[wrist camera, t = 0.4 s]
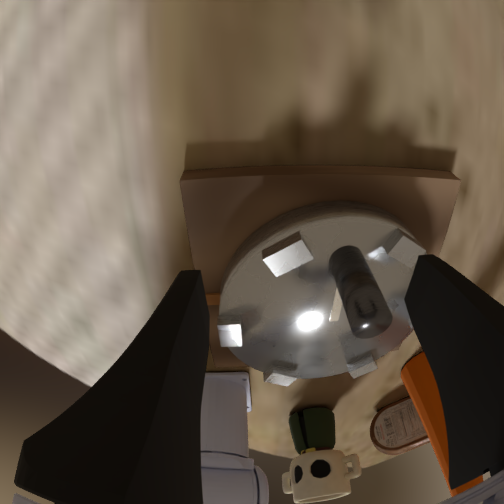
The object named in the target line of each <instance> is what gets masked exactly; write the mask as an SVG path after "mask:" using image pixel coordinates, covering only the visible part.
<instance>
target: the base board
mask: <svg viewBox="0 0 504 504" xmlns="http://www.w3.org/2000/svg"><path fill="white" fill-rule="evenodd" d="M460 183H461V180H460V179H459V178H458V177H456V176H455V175H454V174H452V173H451V172H450V171H439V170H427V169H414V168H398V167H378V166H347V165H286V166H253V167H233V168H216V169H202V170H189V171H184V172H183V174H182V177H181V179H180V186H181V193H182V199H183V206H184V212H185V218H186V224H187V230H188V236H189V242H190V248H191V253H192V259H193V264H194V270H201V274H202V280H203V285H204V290H205V295H206V300H207V305H208V309H209V314H210V333H209V343H210V347H211V352H212V356H213V361H214V365H215V367H245V366H249V365H247V364H245V363H244V362H242V361H241V360H240V359H238V358H237V357H236V356H235V355H234V354H233V353H232V352H231V351H230V349H229V348H228V347H221V345H220V339H219V333H218V328H217V318H218V316H219V305H220V290H221V282H222V278H223V275H224V272H225V269H226V267H227V265H228V263H229V261H230V259H231V257H232V256H233V254H234V253H235V252H236V250H237V249H238V247H239V246H240V245H241V244H242V243H243V242H244V241H245V240H246V239H247V238H248V237H249V236H250V235H251V234H252V233H254V232H255V231H256V230H257V229H259V228H260V227H261V226H262V225H264V224H266V223H267V222H269V221H271V220H272V219H274V218H275V217H277V216H280V215H282V214H284V213H286V212H288V211H290V210H293V209H296V208H299V207H302V206H305V205H309V204H314V203H319V202H324V201H337V200H343V201H357V202H362V203H367V204H371V205H374V206H377V207H380V208H382V209H384V210H386V211H388V212H390V213H391V214H393V215H394V216H396V217H397V218H398V219H399V220H401V221H402V222H403V223H404V224H405V225H406V227H407V228H408V229H409V230H410V231H411V233H412V234H413V235H414V237H415V238H416V239H417V241H418V242H420V243H421V244H422V246H423V247H424V248H425V250H426V253H427V254H433V255H435V256H437V257H439V254H440V251H441V248H442V245H443V242H444V239H445V236H446V233H447V230H448V227H449V223H450V220H451V217H452V213H453V210H454V206H455V203H456V199H457V195H458V191H459V187H460ZM401 343H402V342H401ZM401 343H400V344H399V345H397V346H396V347H395V348H394V349H392V350H391V351H395V350H398V349H399V347H400V345H401Z"/></svg>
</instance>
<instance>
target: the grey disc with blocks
mask: <svg viewBox="0 0 504 504" xmlns="http://www.w3.org/2000/svg"><path fill="white" fill-rule="evenodd" d="M419 255H427V253H426V250H425V248H424V247H423V246H422V244H421V243H420V242H418V241H417V239H416V238H415V237H414V235H413V234H412V233H411V231H410V230H409V229H408V228H407V227H406V225H405V224H404V223H403V222H402V221H401V220H399V219H398V218H397V217H396V216H394V215H393V214H391V213H390V212H388V211H386V210H384V209H382V208H380V207H377V206H374V205H371V204H367V203H362V202H357V201H343V200H337V201H324V202H319V203H314V204H309V205H305V206H302V207H299V208H296V209H293V210H290V211H288V212H286V213H284V214H282V215H280V216H277V217H275V218H274V219H272V220H271V221H269V222H267V223H266V224H264V225H262V226H261V227H260V228H259V229H257V230H256V231H255V232H254V233H252V234H251V235H250V236H249V237H248V238H247V239H246V240H245V241H244V242H243V243H242V244H241V245H240V246H239V247H238V249H237V250H236V252H235V253H234V254H233V256H232V257H231V259H230V261H229V263H228V265H227V267H226V269H225V272H224V275H223V278H222V282H221V290H220V305H219V316H218V318H217V328H218V333H219V339H220V345H221V347H228V348H229V349H230V351H231V352H232V353H233V354H234V355H235V356H236V357H237V358H238V359H240V360H241V361H242V362H244V363H245V364H247V365H249V366H250V367H252V368H254V369H256V370H259V371H261V372H264V373H263V376H264V382H269V383H274V384H278V385H283V386H289V385H290V384H291V383H292V382H293V381H295V380H296V379H309V378H321V377H327V376H333V375H337V374H342V373H345V372H348V371H349V373H350V375H351V376H352V377H353V379H354V378H356V377H359V376H361V375H364V374H366V373H368V372H371V371H373V370H375V369H378V368H377V365H376V362H375V360H377V359H378V358H380V357H382V356H384V355H385V354H387V353H388V352H389V351H391V350H392V349H394V348H395V347H396V346H397V345H399V344H400V343H401V342H402V341H403V340H404V339H405V338H406V337H407V336H408V335H410V333H411V332H412V331H413V330H414V328H413V326H412V323H411V320H410V317H409V314H408V311H407V308H406V304H405V301H404V298H405V295H406V292H407V289H408V286H409V283H410V281H411V278H412V275H413V272H414V268H415V265H416V262H417V259H418V256H419Z"/></svg>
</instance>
